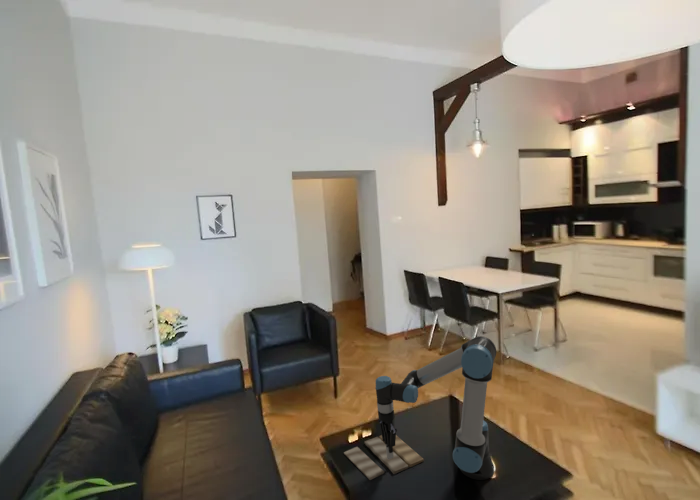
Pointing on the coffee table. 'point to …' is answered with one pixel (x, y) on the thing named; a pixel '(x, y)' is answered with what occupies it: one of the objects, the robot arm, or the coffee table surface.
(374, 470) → the plank
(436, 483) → the coffee table surface
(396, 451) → the laid board
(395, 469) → the board
